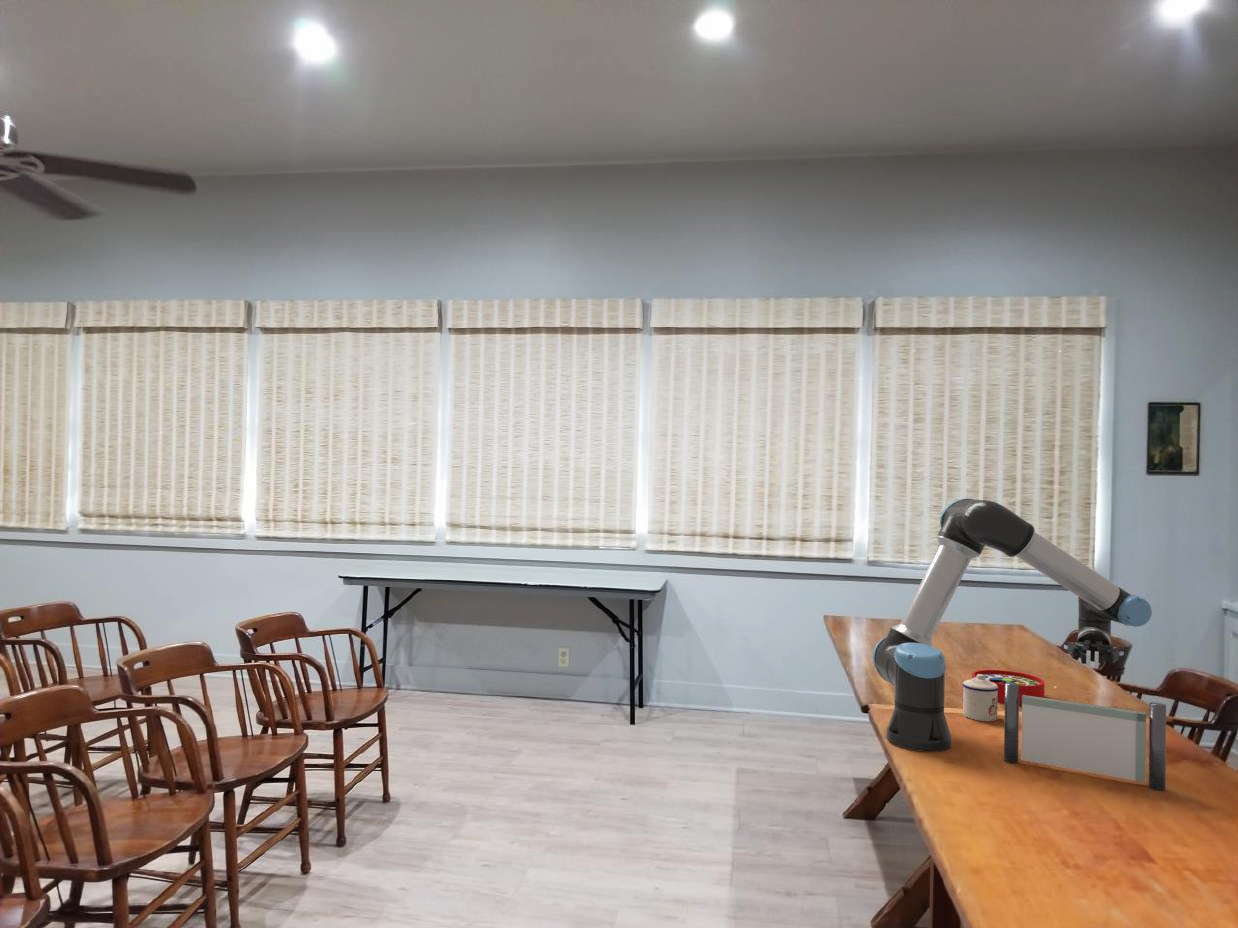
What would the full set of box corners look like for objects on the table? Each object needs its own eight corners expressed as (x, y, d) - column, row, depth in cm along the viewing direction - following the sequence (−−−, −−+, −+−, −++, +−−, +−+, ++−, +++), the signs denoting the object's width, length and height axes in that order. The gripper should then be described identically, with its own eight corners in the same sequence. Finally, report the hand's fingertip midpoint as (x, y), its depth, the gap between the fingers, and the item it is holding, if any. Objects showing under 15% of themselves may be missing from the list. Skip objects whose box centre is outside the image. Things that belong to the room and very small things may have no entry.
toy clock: (1038, 673, 251) (1050, 688, 232) (1038, 692, 251) (1049, 709, 232) (969, 667, 257) (975, 681, 238) (968, 685, 257) (974, 701, 238)
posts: (1003, 761, 186) (1004, 684, 186) (1004, 758, 189) (1005, 681, 189) (1165, 791, 170) (1166, 706, 170) (1165, 787, 172) (1165, 703, 172)
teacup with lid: (996, 723, 215) (996, 680, 216) (960, 718, 220) (960, 675, 220) (1000, 713, 226) (1001, 671, 226) (965, 707, 230) (966, 667, 231)
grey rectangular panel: (1021, 760, 184) (1022, 696, 185) (1022, 757, 186) (1022, 694, 186) (1145, 782, 172) (1146, 714, 172) (1145, 779, 174) (1145, 712, 174)
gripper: (1125, 663, 201) (1128, 682, 181) (1062, 655, 209) (1057, 673, 188) (1126, 633, 201) (1128, 649, 181) (1062, 626, 209) (1058, 641, 189)
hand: (1092, 661), depth 185 cm, fingers closed
